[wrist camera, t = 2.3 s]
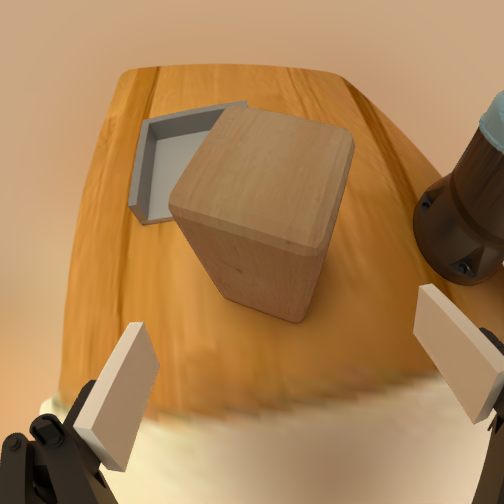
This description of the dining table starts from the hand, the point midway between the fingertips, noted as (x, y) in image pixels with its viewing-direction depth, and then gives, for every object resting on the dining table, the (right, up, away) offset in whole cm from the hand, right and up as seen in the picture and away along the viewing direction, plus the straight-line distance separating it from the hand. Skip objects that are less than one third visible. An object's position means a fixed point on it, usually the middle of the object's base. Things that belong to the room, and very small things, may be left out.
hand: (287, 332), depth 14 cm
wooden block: (+1, +1, +23) cm, 23 cm away
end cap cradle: (-9, +16, +30) cm, 35 cm away
